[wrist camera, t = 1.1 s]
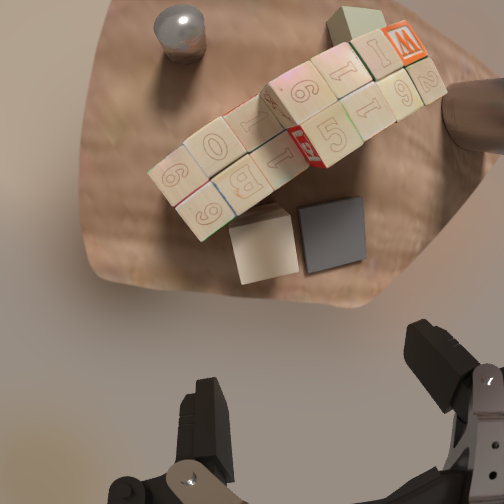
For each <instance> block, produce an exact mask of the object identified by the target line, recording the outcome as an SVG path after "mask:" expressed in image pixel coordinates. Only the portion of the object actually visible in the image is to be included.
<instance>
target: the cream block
mask: <svg viewBox="0 0 504 504" xmlns="http://www.w3.org/2000/svg"><path fill="white" fill-rule="evenodd" d="M228 229H229V233H230V237H231V242H232V246H233V250H234V255H235V259H236V263H237V267H238V272H239V276H240V280H241V284H242V285H243V284H248V283H252V282H257V281H261V280H265V279H270V278H274V277H278V276H283V275H287V274H291V273H295V272H299V268H298V261H297V254H296V248H295V241H294V235H293V228H292V222H291V216H290V214H289V213H287V212H286V211H285V210H284V209H283V208H282V207H281V206H280V205H279V204H278V203H277V202H275V203H270V204H265V205H260V206H256V207H251V208H249V209H248V210H247V211H245V212H244V213H242V214H241V215H239V216H236V217H235V218H234V219H233V220H231V221H230V222H229V223H228Z"/></svg>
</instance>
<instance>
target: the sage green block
mask: <svg viewBox="0 0 504 504" xmlns="http://www.w3.org/2000/svg"><path fill="white" fill-rule="evenodd" d="M326 23H327V26H328V30H329V33H330V36H331V40H332V44H333V47H334V46H336V45H338V44H341V43H343V42H347V43H348V42H349V41H351V40H353V39H355V38H357V37H359V36H362V35H364V34H366V33H369V32H371V31H374V30H376V29H381V28H383V27H386V23H385V20H384V17H383V14H382V11H380V10H373V9H366V8H357V7H347V6H341V7H340V8H339V9H338V10H337V11H336V12H335V13H334V14H333V15H332V16H331V18H330V19H329V20H328V21H327V22H326Z"/></svg>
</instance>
